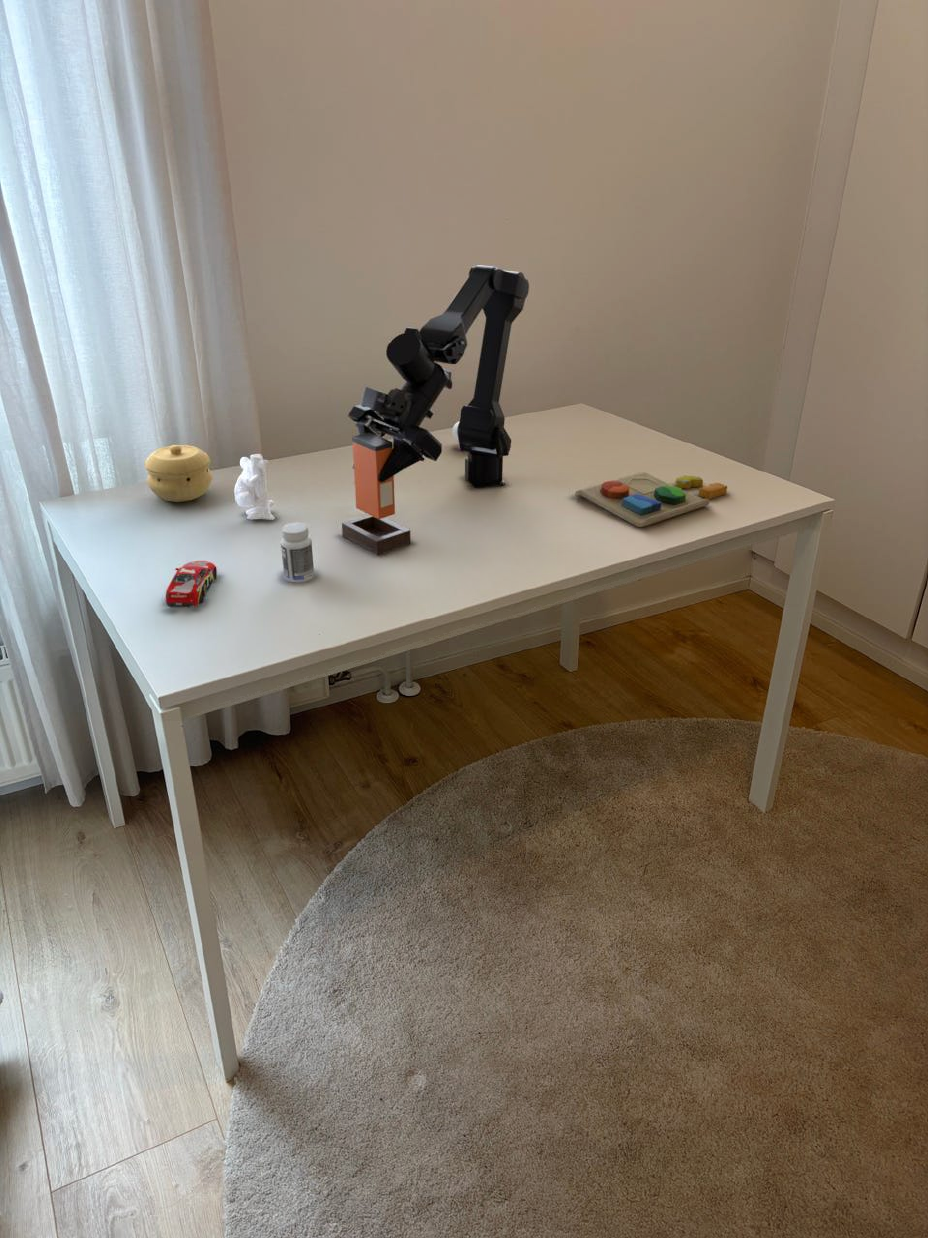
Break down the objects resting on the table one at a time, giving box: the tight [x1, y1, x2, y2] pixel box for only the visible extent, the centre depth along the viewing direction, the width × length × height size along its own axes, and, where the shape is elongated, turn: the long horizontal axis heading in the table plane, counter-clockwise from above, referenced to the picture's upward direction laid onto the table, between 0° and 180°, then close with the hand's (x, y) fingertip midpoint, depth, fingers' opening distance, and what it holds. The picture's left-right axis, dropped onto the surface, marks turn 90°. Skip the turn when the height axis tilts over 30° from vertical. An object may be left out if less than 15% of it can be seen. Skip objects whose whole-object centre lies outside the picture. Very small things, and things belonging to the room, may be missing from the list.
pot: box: [144, 444, 213, 503], centre depth 177 cm, size 12×12×10 cm
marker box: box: [351, 433, 396, 519], centre depth 157 cm, size 3×6×12 cm, turn 42°
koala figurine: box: [233, 453, 275, 521], centre depth 169 cm, size 8×7×12 cm
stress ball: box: [452, 420, 460, 450], centre depth 204 cm, size 8×8×7 cm
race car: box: [165, 560, 218, 608], centre depth 145 cm, size 13×5×4 cm, turn 177°
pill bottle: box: [280, 522, 315, 583], centre depth 149 cm, size 5×5×8 cm
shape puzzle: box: [574, 471, 728, 528], centre depth 179 cm, size 25×19×3 cm
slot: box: [341, 514, 412, 556], centre depth 162 cm, size 7×10×2 cm
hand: (366, 475), depth 156 cm, fingers closed on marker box, 6 cm apart
